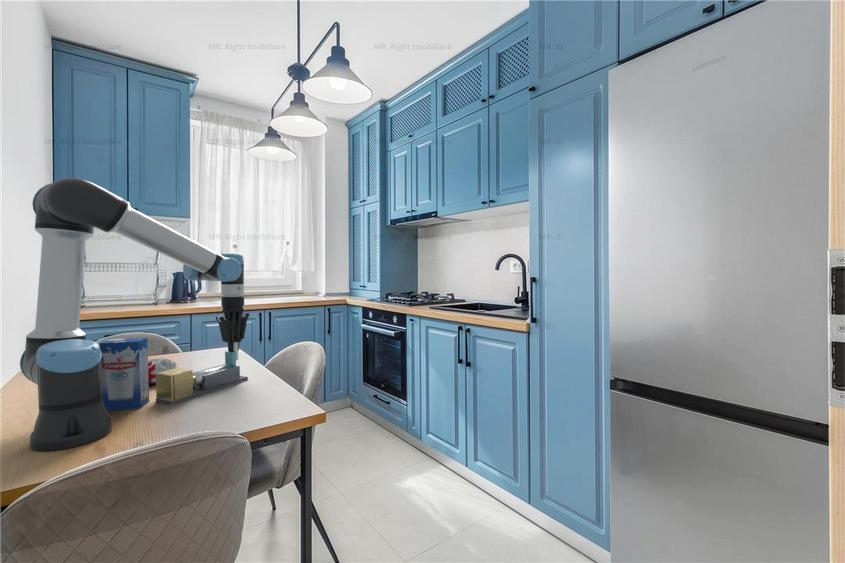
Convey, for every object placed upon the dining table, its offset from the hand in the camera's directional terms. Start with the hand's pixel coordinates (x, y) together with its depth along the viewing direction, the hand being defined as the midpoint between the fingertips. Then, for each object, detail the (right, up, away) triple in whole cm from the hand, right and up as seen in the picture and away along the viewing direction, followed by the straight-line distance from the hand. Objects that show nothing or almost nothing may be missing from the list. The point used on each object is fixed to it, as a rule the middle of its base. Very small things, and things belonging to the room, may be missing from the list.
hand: (233, 359), depth 143 cm
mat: (-4, -8, -10) cm, 13 cm away
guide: (-5, -7, -12) cm, 15 cm away
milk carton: (-20, -9, -26) cm, 34 cm away
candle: (-28, -8, -4) cm, 29 cm away
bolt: (-3, -6, -8) cm, 10 cm away
